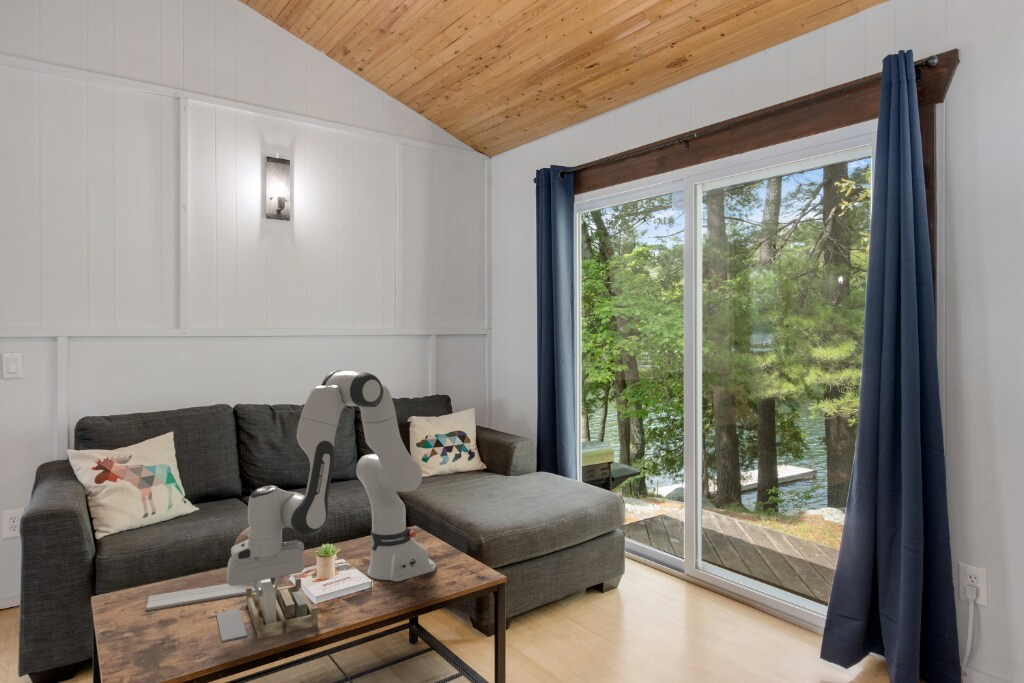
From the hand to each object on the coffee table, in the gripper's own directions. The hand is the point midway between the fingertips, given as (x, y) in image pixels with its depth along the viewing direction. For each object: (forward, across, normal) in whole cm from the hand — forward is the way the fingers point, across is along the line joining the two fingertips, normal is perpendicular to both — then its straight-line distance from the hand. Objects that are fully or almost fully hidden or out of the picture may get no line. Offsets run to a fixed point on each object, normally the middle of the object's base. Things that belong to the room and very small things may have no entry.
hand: (266, 593), depth 178 cm
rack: (+7, -4, 0) cm, 8 cm away
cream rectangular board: (+6, 0, 0) cm, 6 cm away
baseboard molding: (+8, +14, -26) cm, 31 cm away
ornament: (+7, -2, -38) cm, 39 cm away
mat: (+7, +9, 0) cm, 11 cm away
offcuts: (+7, -7, -1) cm, 10 cm away
